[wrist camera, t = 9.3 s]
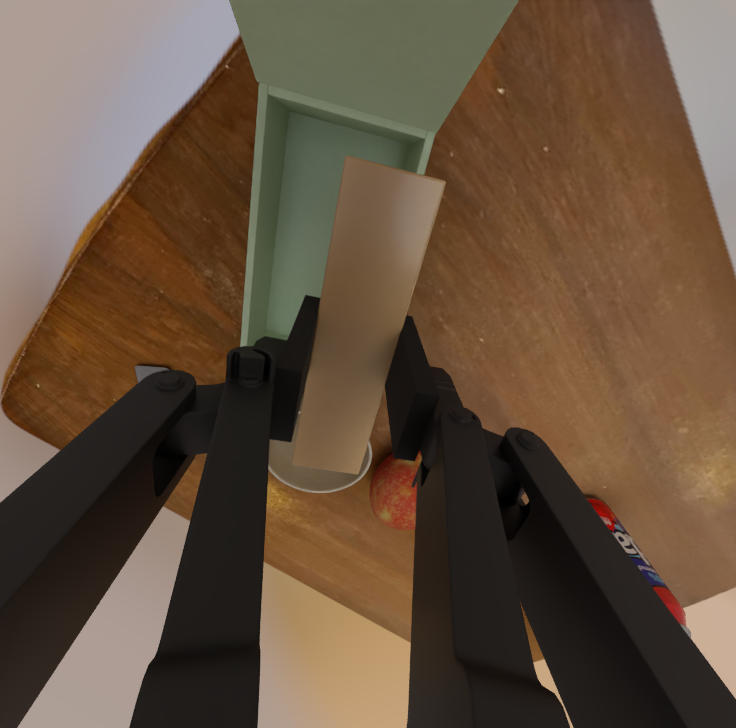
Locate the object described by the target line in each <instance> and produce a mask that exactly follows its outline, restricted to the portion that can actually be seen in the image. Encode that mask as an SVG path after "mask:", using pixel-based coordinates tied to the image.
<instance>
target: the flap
mask: <svg viewBox="0 0 736 728" xmlns="http://www.w3.org/2000/svg"><path fill="white" fill-rule="evenodd" d="M229 1H230V4H231V7H232V10H233V13H234V16H235V18H236V22H237V24H238V28H239V31H240V34H241V37H242V40H243V43H244V46H245V49H246V51H247V54H248V57H249V60H250V63H251V66H252V69H253V72H254V75H255V78H256V81H257V82H260V83H264V84H267V85H271V86H274V87H278V88H281V89H285V90H288V91H292V92H295V93H299V94H302V95H306V96H309V97H313V98H316V99H320V100H323V101H326V102H330V103H333V104H337V105H340V106H344V107H347V108H351V109H354V110H358V111H361V112H365V113H368V114H372V115H375V116H379V117H382V118H386V119H389V120H393V121H396V122H400V123H403V124H407V125H410V126H414V127H417V128H420V129H424V130H427V131H431V132H434V133H437V132H438V130H439V129H440V127H441V126H442V124H443V122H444V121H445V119H446V117H447V116H448V114H449V113H450V111H451V109H452V108H453V106H454V104H455V103H456V101H457V100H458V98H459V96H460V95H461V93H462V92H463V90H464V88H465V87H466V85H467V83H468V82H469V80H470V79H471V77H472V75H473V74H474V72H475V71H476V69H477V67H478V66H479V64H480V62H481V61H482V59H483V58H484V56H485V54H486V53H487V51H488V50H489V48H490V46H491V45H492V43H493V41H494V40H495V38H496V37H497V35H498V33H499V32H500V30H501V29H502V27H503V25H504V24H505V22H506V20H507V19H508V17H509V16H510V14H511V12H512V11H513V9H514V8H515V6H516V4H517V3H518V1H519V0H229Z"/></svg>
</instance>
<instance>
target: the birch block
mask: <svg viewBox="0 0 736 728" xmlns="http://www.w3.org/2000/svg"><path fill="white" fill-rule="evenodd" d="M445 185H446V182H445V181H444V180H440V179H436V178H432V177H429V176H425V175H421V174H417V173H413V172H410V171H406V170H402V169H398V168H395V167H391V166H387V165H383V164H380V163H376V162H372V161H368V160H364V159H361V158H357V157H353V156H349V155H347V156H345V159H344V165H343V171H342V176H341V182H340V188H339V194H338V199H337V205H336V211H335V217H334V223H333V228H332V234H331V240H330V246H329V251H328V257H327V263H326V269H325V274H324V280H323V286H322V292H321V297H320V303H319V309H318V317H317V323H316V329H315V335H314V341H313V347H312V353H311V359H310V365H309V371H308V375H307V379H306V384H305V390H304V396H303V401H302V407H301V413H300V419H299V424H298V430H297V436H296V442H295V447H294V453H293V459H292V464H293V465H297V466H304V467H311V468H317V469H324V470H331V471H337V472H344V473H351V474H359V472H360V468H361V465H362V462H363V458H364V455H365V452H366V448H367V445H368V442H369V438H370V435H371V432H372V428H373V425H374V422H375V418H376V415H377V412H378V408H379V405H380V402H381V398H382V395H383V392H384V388H385V383H386V380H387V376H388V373H389V369H390V366H391V363H392V359H393V356H394V352H395V349H396V346H397V342H398V339H399V335H400V332H401V331H402V328H403V325H404V322H405V318H406V315H407V312H408V308H409V305H410V302H411V298H412V295H413V292H414V288H415V285H416V282H417V278H418V275H419V272H420V268H421V265H422V262H423V258H424V255H425V252H426V248H427V245H428V242H429V238H430V235H431V232H432V228H433V225H434V222H435V218H436V215H437V212H438V208H439V205H440V202H441V198H442V195H443V192H444V188H445Z"/></svg>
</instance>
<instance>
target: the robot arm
mask: <svg viewBox="0 0 736 728" xmlns="http://www.w3.org/2000/svg"><path fill="white" fill-rule="evenodd" d="M319 303H320V298H319V297H314V296H309V295H305V297H304V300H303V302H302V305H301V307H300V310H299V312H298V315H297V317H296V320H295V322H294V325H293V327H292V329H291V332H290V334H289V337H288V339H287V340H283V339H278V338H273V337H268V336H264V337H262V338H261V339H259V340H257V341H256V342H255V344H254V346H242V347H236V348H234V349H232V350H230V351H229V353H228V354H227V369H226V382H225V383H221V384H215V385H196V381H195V378H194V377H193V376H192V375H191V374H189V373H186V372H183V371H178V370H163V371H159V372H155V373H152V374H150V375H148V376H147V377H145V378H144V379H143V380H141V381H140V382H139V383H138V384H137V385H136V386H134V387H133V388H132V389H131V390H130V391H129V392H128V393H126V394H125V395H124V396H123V397H122V398H121V399H119V400H118V401H117V402H116V403H115V404H114V405H113V406H111V407H110V408H109V409H108V410H107V411H106V412H104V413H103V414H102V415H101V416H100V417H99V418H98V419H96V420H95V421H94V422H93V423H92V424H91V425H89V426H88V427H87V428H86V429H85V430H84V431H83V432H81V433H80V434H79V435H78V436H77V437H76V438H74V439H73V440H72V441H71V442H70V443H69V444H68V445H66V446H65V447H64V448H63V449H62V450H61V451H60V452H58V453H57V454H56V455H55V456H54V457H53V458H52V459H51V460H49V461H48V462H47V463H46V464H45V465H43V466H42V467H41V468H40V469H39V470H38V471H36V472H35V473H34V474H33V475H32V476H31V477H30V478H28V479H27V480H26V481H25V482H24V483H23V484H22V485H20V486H19V487H18V488H17V489H16V490H15V491H13V492H12V493H11V494H10V495H9V496H8V497H6V498H5V499H4V500H3V501H2V502H1V503H0V728H17V727H18V725H19V724H20V722H21V721H22V719H23V718H24V716H25V715H26V713H27V712H28V710H29V709H30V707H31V706H32V704H33V703H34V701H35V700H36V698H37V697H38V695H39V694H40V692H41V690H42V689H43V688H44V686H45V684H46V683H47V681H48V680H49V678H50V677H51V675H52V674H53V672H54V671H55V669H56V668H57V666H58V664H59V663H60V662H61V660H62V659H63V657H64V656H65V654H66V652H67V651H68V650H69V648H70V646H71V645H72V643H73V642H74V640H75V639H76V637H77V636H78V634H79V633H80V631H81V630H82V628H83V627H84V625H85V624H86V622H87V621H88V619H89V618H90V616H91V614H92V613H93V612H94V610H95V609H96V607H97V605H98V604H99V603H100V601H101V599H102V598H103V596H104V595H105V593H106V592H107V590H108V589H109V587H110V586H111V584H112V583H113V581H114V580H115V578H116V577H117V575H118V574H119V572H120V570H121V569H122V567H123V566H124V565H125V563H126V561H127V559H128V558H129V557H130V555H131V554H132V552H133V551H134V549H135V548H136V546H137V545H138V543H139V542H140V540H141V539H142V537H143V536H144V534H145V533H146V531H147V529H148V528H149V527H150V525H151V523H152V522H153V520H154V519H155V517H156V516H157V514H158V513H159V511H160V510H161V508H162V507H163V505H164V504H165V502H166V501H167V499H168V498H169V496H170V495H171V493H172V492H173V490H174V489H175V487H176V486H177V484H178V483H179V481H180V479H181V478H182V476H183V475H184V473H185V472H186V470H187V469H188V467H189V466H190V464H191V463H192V461H193V460H194V458H195V455H196V454H204V453H207V457H206V461H205V465H204V469H203V473H202V477H201V481H200V485H199V489H198V493H197V497H196V501H195V505H194V509H193V513H192V517H191V521H190V525H189V529H188V533H187V537H186V541H185V545H184V549H183V553H182V557H181V561H180V565H179V569H178V573H177V577H176V581H175V585H174V588H173V592H172V596H171V600H170V605H169V608H168V613H167V616H166V620H165V625H164V629H163V632H162V636H161V640H160V644H159V647H158V651H157V653H156V655H155V657H154V659H153V660H152V661H151V662H150V664H149V665H148V668H147V670H146V673H145V675H144V678H143V681H142V685H141V688H140V692H139V695H138V698H137V702H136V705H135V709H134V713H133V716H132V720H131V724H130V728H257V724H258V703H259V681H260V646H259V641H260V639H259V637H260V618H261V598H262V579H263V560H264V541H265V522H266V503H267V484H268V464H269V445H270V439H271V440H278V441H284V442H291V441H292V437H293V433H294V429H295V425H296V421H297V417H298V412H299V408H300V404H301V400H302V396H303V392H304V387H305V383H306V379H307V375H308V371H309V365H310V359H311V353H312V347H313V341H314V335H315V329H316V323H317V317H318V309H319ZM385 390H386V399H387V407H388V416H389V424H390V433H391V442H392V450H393V458H395V459H402V460H408V461H415V460H416V457H417V455H418V452H419V450H420V452H421V457H422V460H421V462H420V465H419V467H418V470H417V472H416V475H415V477H414V480H413V482H412V485H411V487H413V488H414V487H415V485H416V483H417V495H416V522H415V548H414V574H413V600H412V626H411V653H410V679H409V705H408V721H407V728H570V726H569V723H568V720H567V717H566V714H565V711H564V709H563V706H562V704H561V703H560V701H559V700H558V698H557V696H556V695H555V694H554V693H553V692H551V691H550V690H548V689H546V688H545V687H543V686H542V685H541V683H540V682H539V680H538V678H537V675H536V672H535V669H534V664H533V659H532V655H531V650H530V646H529V641H528V636H527V632H526V627H525V623H524V618H523V613H522V609H521V604H522V606H523V609H524V611H525V614H526V616H527V618H528V621H529V623H530V625H531V628H532V630H533V633H534V635H535V637H536V640H537V642H538V644H539V647H540V649H541V651H542V654H543V656H544V659H545V661H546V663H547V666H548V668H549V670H550V673H551V675H552V677H553V680H554V682H555V685H556V687H557V689H558V692H559V694H560V697H561V699H562V701H563V704H564V706H565V708H566V711H567V713H568V715H569V718H570V720H571V723H572V725H573V727H574V728H736V699H735V698H734V696H733V695H732V694H731V692H730V691H729V690H728V688H727V687H726V686H725V684H724V683H723V682H722V680H721V679H720V677H719V676H718V675H717V674H716V672H715V671H714V669H713V668H712V667H711V665H710V664H709V663H708V661H707V660H706V659H705V657H704V656H703V655H702V653H701V652H700V651H699V649H698V648H697V646H696V645H695V644H694V643H693V641H692V640H691V638H690V637H689V636H688V634H687V633H686V632H685V630H684V629H683V628H682V626H681V625H680V624H679V622H678V621H677V619H676V618H675V617H674V615H673V614H672V613H671V611H670V610H669V609H668V607H667V606H666V605H665V603H664V602H663V601H662V599H661V598H660V597H659V595H658V594H657V593H656V591H655V590H654V589H653V587H652V586H651V584H650V583H649V582H648V580H647V579H646V578H645V576H644V575H643V574H642V572H641V571H640V570H639V568H638V567H637V566H636V564H635V563H634V562H633V560H632V559H631V558H630V556H629V555H628V553H627V552H626V551H625V549H624V548H623V547H622V545H621V544H620V543H619V541H618V540H617V539H616V537H615V536H614V535H613V533H612V532H611V531H610V529H609V528H608V527H607V525H606V524H605V523H604V521H603V520H602V518H601V517H600V516H599V514H598V513H597V512H596V510H595V509H594V508H593V506H592V505H591V504H590V502H589V501H588V500H587V498H586V497H585V496H584V494H583V493H582V492H581V490H580V489H579V487H578V486H577V485H576V483H575V482H574V481H573V479H572V478H571V477H570V475H569V474H568V473H567V471H566V470H565V469H564V467H563V466H562V465H561V463H560V462H559V461H558V459H557V458H556V456H555V455H554V454H553V452H552V451H551V450H550V448H549V447H548V446H547V444H546V443H545V442H544V441H543V440H542V439H541V438H540V437H538V436H537V435H535V434H534V433H533V432H531V431H529V430H526V429H521V428H510V429H508V430H507V431H506V433H505V435H504V437H503V436H500V435H498V434H495V433H493V432H490V431H487V430H485V429H483V428H482V425H481V422H480V420H479V418H478V417H477V416H476V415H475V414H474V413H473V412H471V411H470V410H468V409H467V408H464V407H463V405H462V403H461V400H460V398H459V396H458V393H457V391H456V389H455V386H454V385H453V382H452V379H451V377H450V376H449V375H448V374H447V373H446V372H445V371H444V370H443V369H442V368H436V367H431V366H429V364H428V361H427V358H426V355H425V352H424V349H423V346H422V343H421V341H420V338H419V335H418V332H417V329H416V326H415V323H414V320H413V317H411V316H406V318H405V322H404V325H403V328H402V331H401V332H400V335H399V339H398V342H397V346H396V349H395V352H394V356H393V359H392V363H391V366H390V369H389V373H388V376H387V380H386V383H385ZM524 492H525V493H526V495H527V496H528V499H529V502H528V504H527V505H525V503H524V502H523V500H522V498H521V497H522V496H523V494H524ZM519 599H520V600H519ZM520 602H521V604H520Z"/></svg>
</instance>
